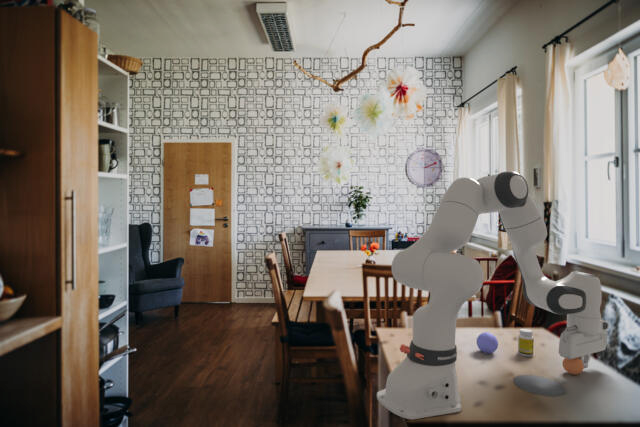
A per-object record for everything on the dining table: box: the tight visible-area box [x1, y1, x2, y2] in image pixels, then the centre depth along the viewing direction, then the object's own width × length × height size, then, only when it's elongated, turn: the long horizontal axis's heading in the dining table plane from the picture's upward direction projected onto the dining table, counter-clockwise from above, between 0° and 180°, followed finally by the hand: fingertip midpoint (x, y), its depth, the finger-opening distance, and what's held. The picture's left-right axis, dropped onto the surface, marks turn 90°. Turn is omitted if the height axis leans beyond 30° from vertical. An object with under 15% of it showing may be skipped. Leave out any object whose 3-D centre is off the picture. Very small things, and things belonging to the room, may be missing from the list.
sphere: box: [475, 332, 499, 354], centre depth 138 cm, size 7×7×7 cm
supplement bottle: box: [517, 328, 534, 357], centre depth 137 cm, size 5×5×8 cm
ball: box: [562, 357, 585, 376], centre depth 121 cm, size 6×6×6 cm
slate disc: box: [512, 374, 566, 397], centre depth 113 cm, size 13×13×1 cm
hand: (582, 367), depth 123 cm, fingers closed
